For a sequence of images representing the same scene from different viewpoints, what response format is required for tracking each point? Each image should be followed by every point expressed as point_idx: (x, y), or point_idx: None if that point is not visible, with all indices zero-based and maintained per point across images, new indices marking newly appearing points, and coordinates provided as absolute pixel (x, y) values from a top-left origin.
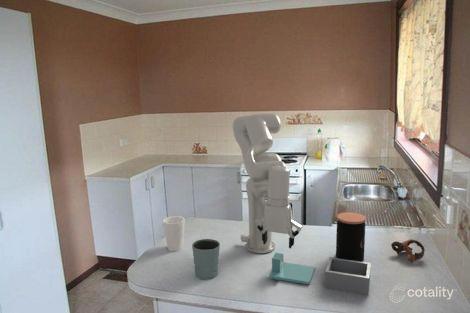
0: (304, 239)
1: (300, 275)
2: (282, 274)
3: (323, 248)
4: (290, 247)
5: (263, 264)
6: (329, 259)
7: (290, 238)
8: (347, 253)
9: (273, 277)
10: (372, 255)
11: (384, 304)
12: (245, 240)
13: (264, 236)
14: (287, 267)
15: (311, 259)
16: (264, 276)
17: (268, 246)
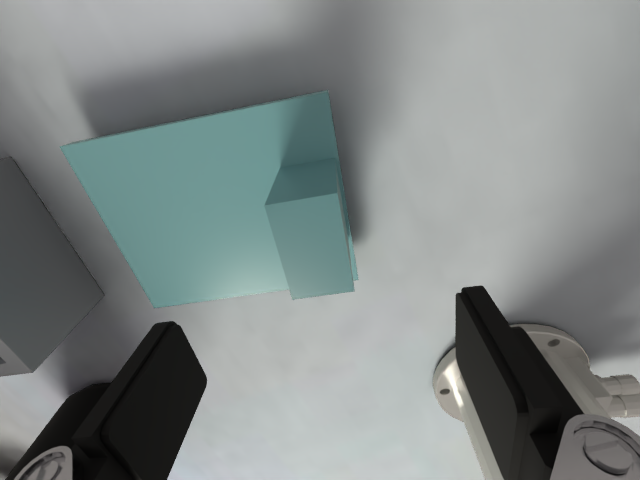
0: (346, 466)
1: (155, 196)
2: (253, 152)
3: (252, 441)
4: (152, 328)
5: (436, 248)
6: (10, 352)
7: (76, 439)
8: (64, 434)
9: (295, 98)
10: None
11: None
12: (610, 384)
13: (514, 374)
14: (272, 244)
15: (246, 369)
16: (379, 129)
17: (463, 382)
